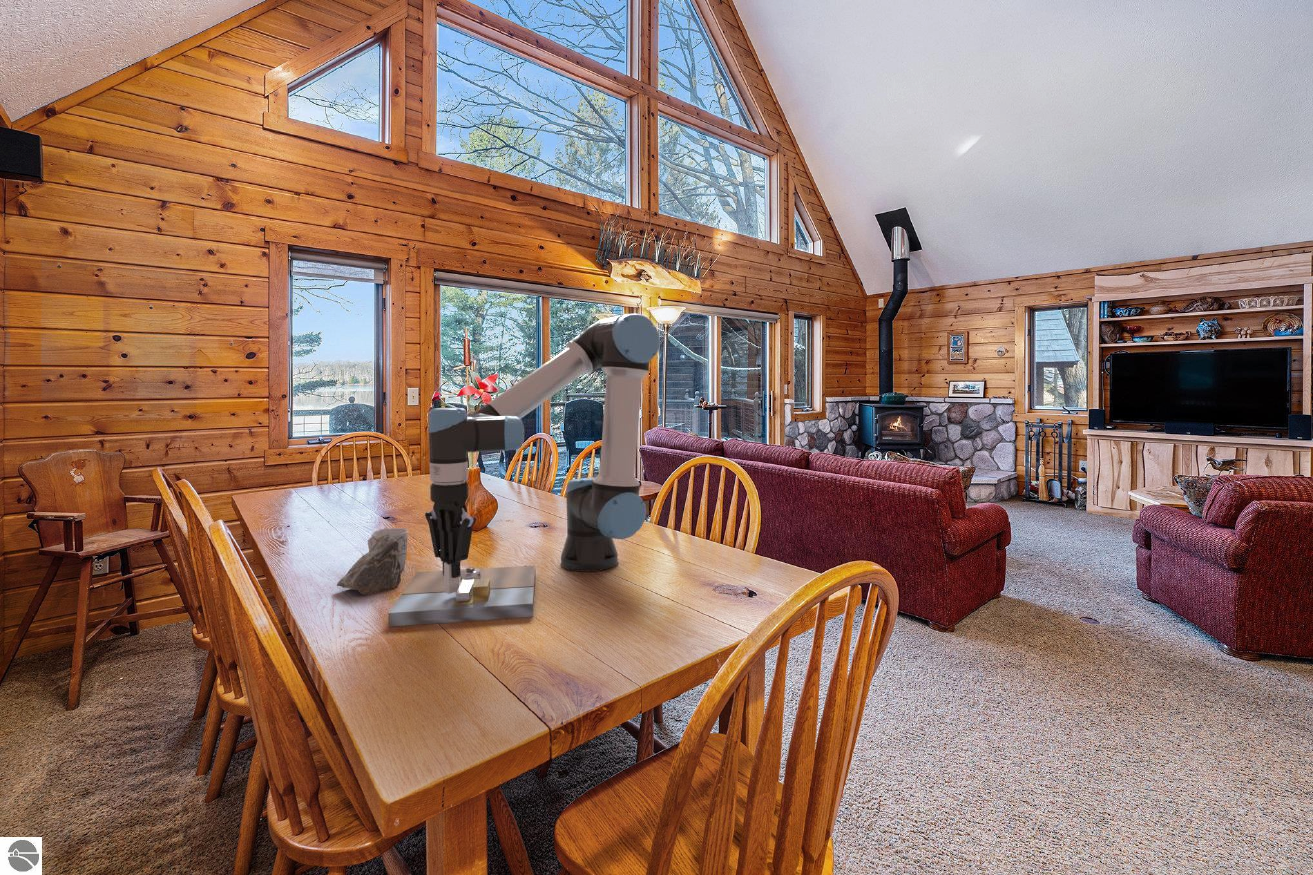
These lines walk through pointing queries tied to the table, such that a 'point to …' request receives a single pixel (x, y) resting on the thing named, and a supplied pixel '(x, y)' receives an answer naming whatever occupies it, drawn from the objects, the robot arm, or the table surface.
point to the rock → (375, 568)
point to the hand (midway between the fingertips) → (452, 591)
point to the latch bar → (467, 583)
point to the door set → (491, 599)
